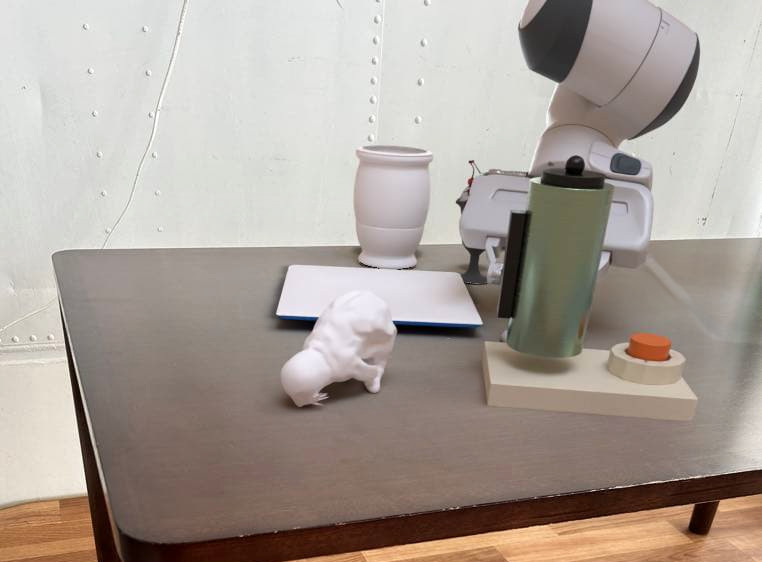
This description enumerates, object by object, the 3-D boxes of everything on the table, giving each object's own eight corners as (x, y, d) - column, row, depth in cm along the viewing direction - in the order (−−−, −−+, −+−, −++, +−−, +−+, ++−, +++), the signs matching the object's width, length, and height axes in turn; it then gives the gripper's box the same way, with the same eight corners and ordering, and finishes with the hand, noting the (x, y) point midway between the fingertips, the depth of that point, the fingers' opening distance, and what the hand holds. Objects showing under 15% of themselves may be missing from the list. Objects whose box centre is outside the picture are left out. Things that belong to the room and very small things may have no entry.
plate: (481, 341, 89) (483, 322, 88) (275, 331, 88) (275, 312, 87) (458, 287, 108) (460, 271, 107) (289, 279, 107) (289, 263, 106)
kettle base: (660, 375, 82) (670, 336, 80) (691, 422, 72) (704, 379, 70) (481, 362, 83) (487, 323, 81) (487, 406, 73) (493, 363, 71)
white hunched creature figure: (404, 291, 71) (312, 333, 64) (402, 382, 76) (317, 430, 69) (348, 277, 74) (255, 315, 67) (350, 365, 79) (263, 409, 72)
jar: (434, 262, 120) (444, 150, 112) (408, 276, 112) (417, 156, 104) (368, 252, 124) (374, 142, 116) (338, 265, 115) (342, 148, 108)
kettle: (573, 329, 81) (607, 150, 72) (587, 361, 72) (627, 163, 64) (490, 323, 81) (514, 144, 73) (495, 354, 73) (523, 156, 64)
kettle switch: (662, 353, 77) (666, 334, 76) (671, 365, 74) (676, 346, 73) (623, 350, 77) (627, 331, 76) (630, 362, 74) (635, 343, 73)
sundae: (437, 277, 112) (449, 158, 104) (470, 271, 116) (484, 156, 108) (472, 288, 108) (487, 165, 100) (506, 282, 112) (523, 162, 104)
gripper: (474, 147, 89) (439, 257, 86) (668, 165, 83) (637, 284, 80) (479, 186, 95) (446, 290, 92) (661, 206, 89) (632, 317, 86)
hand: (536, 287), depth 86 cm, fingers open, 8 cm apart
